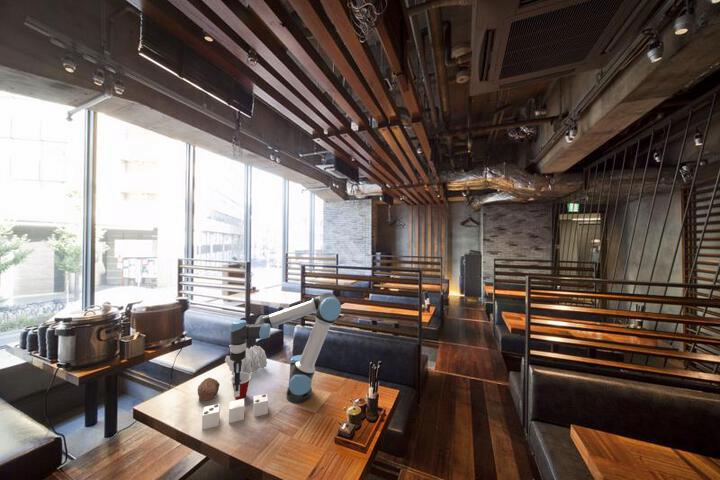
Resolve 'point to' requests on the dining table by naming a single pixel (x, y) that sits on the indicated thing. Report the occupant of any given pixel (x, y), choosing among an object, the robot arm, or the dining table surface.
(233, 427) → the dining table surface
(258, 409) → the block two pips
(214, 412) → the block three pips
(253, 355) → the white ruffled irregular piece
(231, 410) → the blank block
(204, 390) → the coconut
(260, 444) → the dining table surface
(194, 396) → the dining table surface
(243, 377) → the plastic cup
